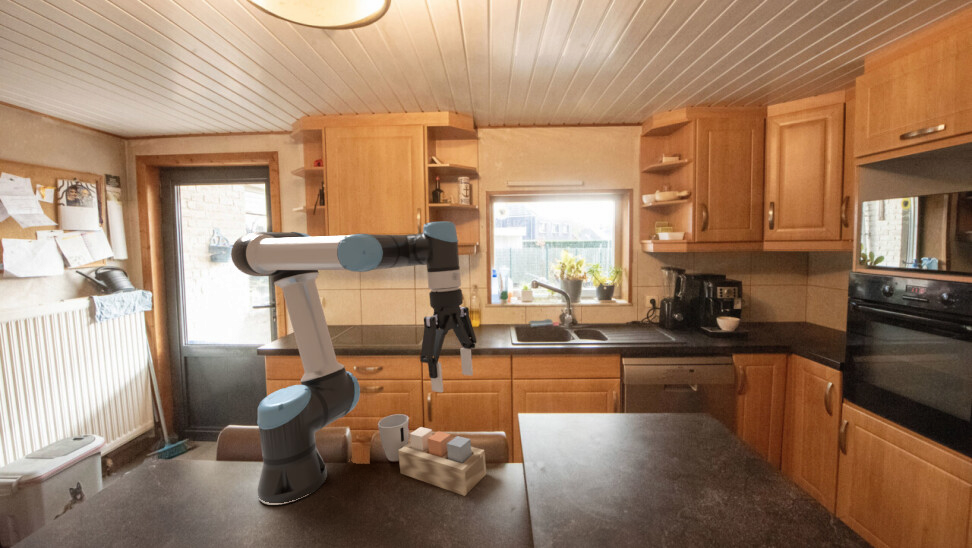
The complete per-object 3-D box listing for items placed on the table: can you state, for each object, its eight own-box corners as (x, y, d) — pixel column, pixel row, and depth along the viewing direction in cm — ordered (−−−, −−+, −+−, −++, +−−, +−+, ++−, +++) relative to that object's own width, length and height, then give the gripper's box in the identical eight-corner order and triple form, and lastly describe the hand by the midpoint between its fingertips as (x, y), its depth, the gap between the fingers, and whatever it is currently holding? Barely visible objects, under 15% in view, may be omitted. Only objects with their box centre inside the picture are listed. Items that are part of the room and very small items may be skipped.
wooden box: (400, 473, 94) (398, 450, 93) (424, 455, 101) (422, 433, 101) (464, 495, 83) (462, 469, 83) (486, 473, 90) (484, 450, 90)
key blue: (449, 468, 88) (446, 443, 88) (459, 459, 91) (457, 435, 91) (462, 472, 86) (460, 447, 86) (472, 463, 89) (470, 439, 89)
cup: (404, 465, 97) (400, 427, 97) (376, 463, 99) (372, 427, 98) (416, 448, 105) (413, 414, 105) (390, 447, 107) (386, 414, 106)
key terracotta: (429, 462, 91) (427, 438, 91) (440, 454, 95) (438, 431, 94) (442, 466, 89) (440, 441, 89) (452, 457, 92) (450, 434, 92)
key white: (412, 456, 95) (409, 433, 94) (422, 448, 98) (420, 426, 98) (423, 460, 92) (421, 436, 92) (434, 452, 96) (432, 429, 95)
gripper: (423, 296, 74) (433, 403, 76) (486, 283, 94) (492, 368, 95) (396, 296, 78) (406, 398, 80) (462, 283, 98) (469, 365, 99)
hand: (453, 382), depth 87 cm, fingers open, 11 cm apart
